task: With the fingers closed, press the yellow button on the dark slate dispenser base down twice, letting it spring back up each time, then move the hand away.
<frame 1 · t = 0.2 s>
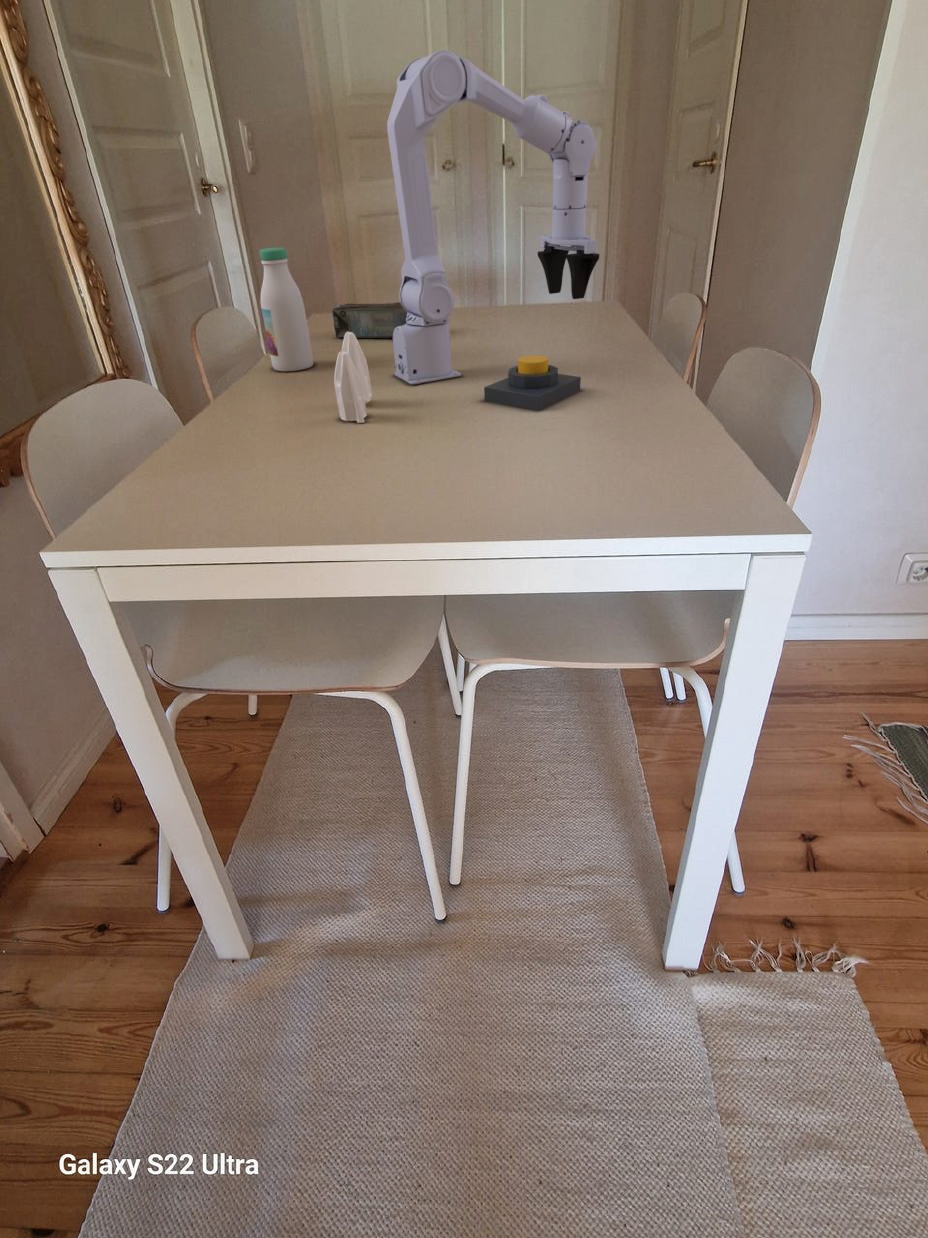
hand: (566, 295, 124), 10 cm above the table, tool pointing down, fingers open, 7 cm apart
beverage carton: (381, 336, 151), on the table
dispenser: (532, 396, 107), on the table
button: (533, 365, 105), point 5 cm above the table, slide at 0.1 cm
milk bottle: (293, 368, 131), on the table
white pointed piece: (357, 412, 105), on the table
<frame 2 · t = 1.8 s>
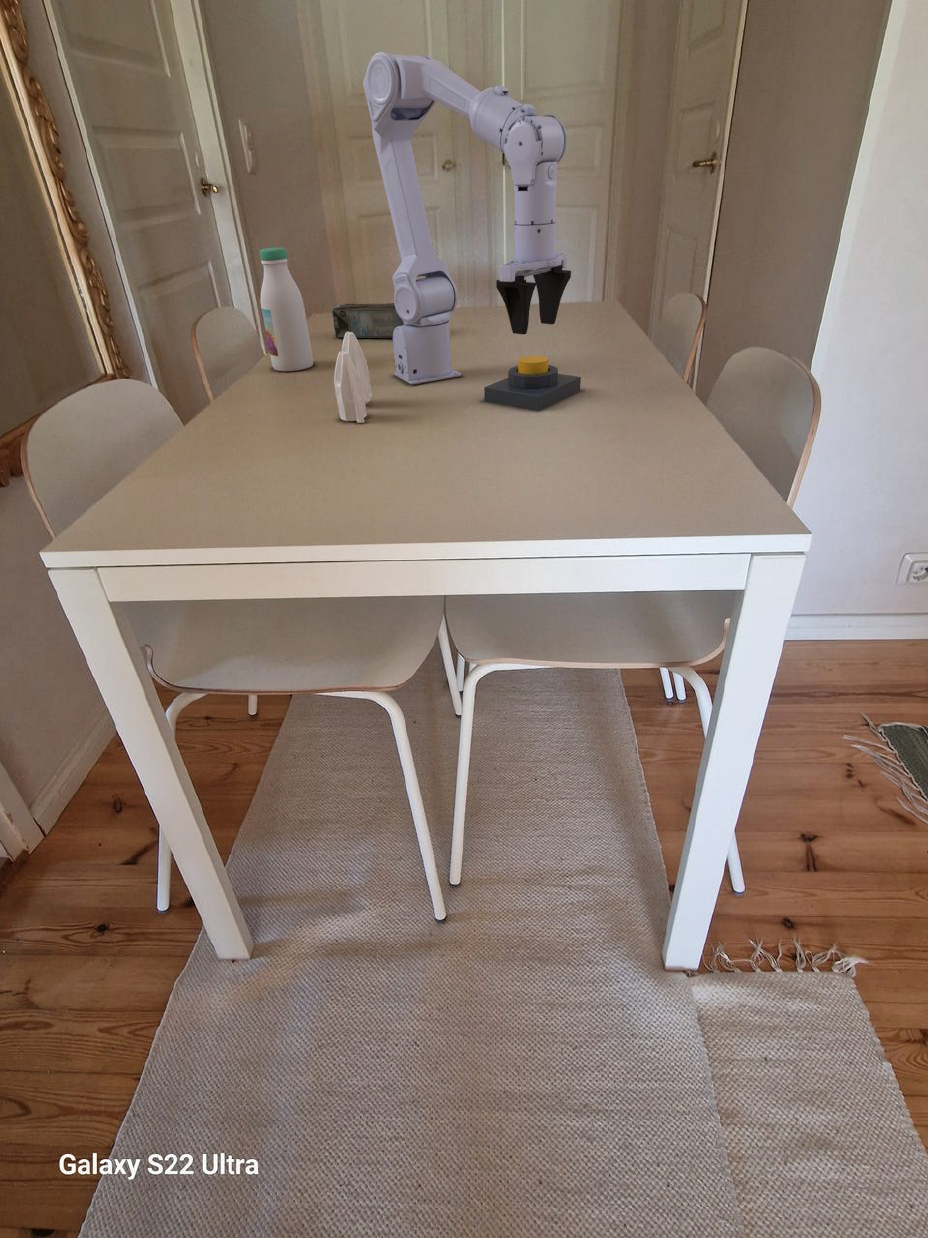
hand: (534, 328, 102), 10 cm above the table, tool pointing down, fingers open, 7 cm apart
nothing on the table moved.
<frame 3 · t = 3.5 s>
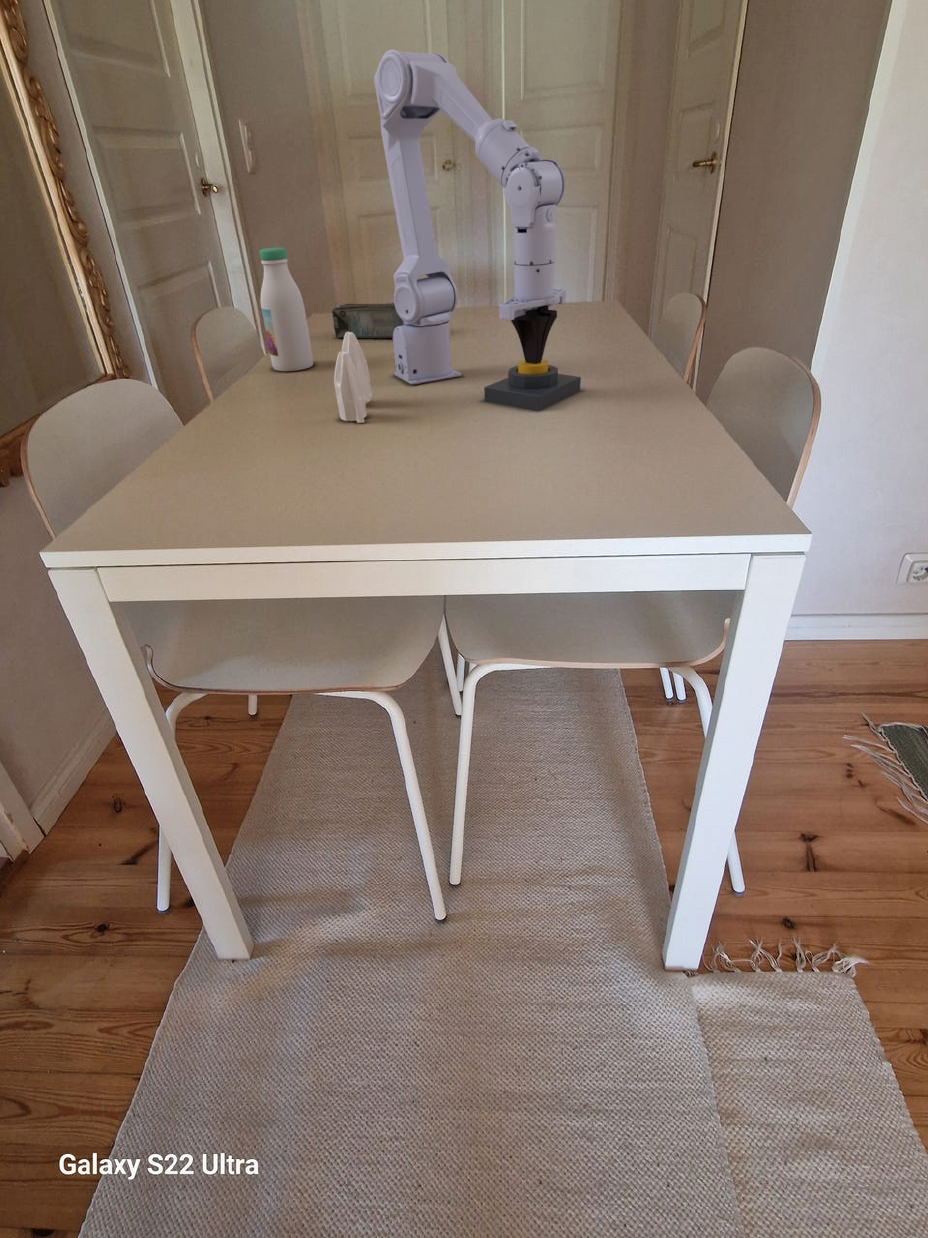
hand: (533, 362, 105), 5 cm above the table, tool pointing down, fingers closed, pressing on button
button: (533, 369, 105), point 4 cm above the table, slide at -0.4 cm, touching gripper
everything else where it was.
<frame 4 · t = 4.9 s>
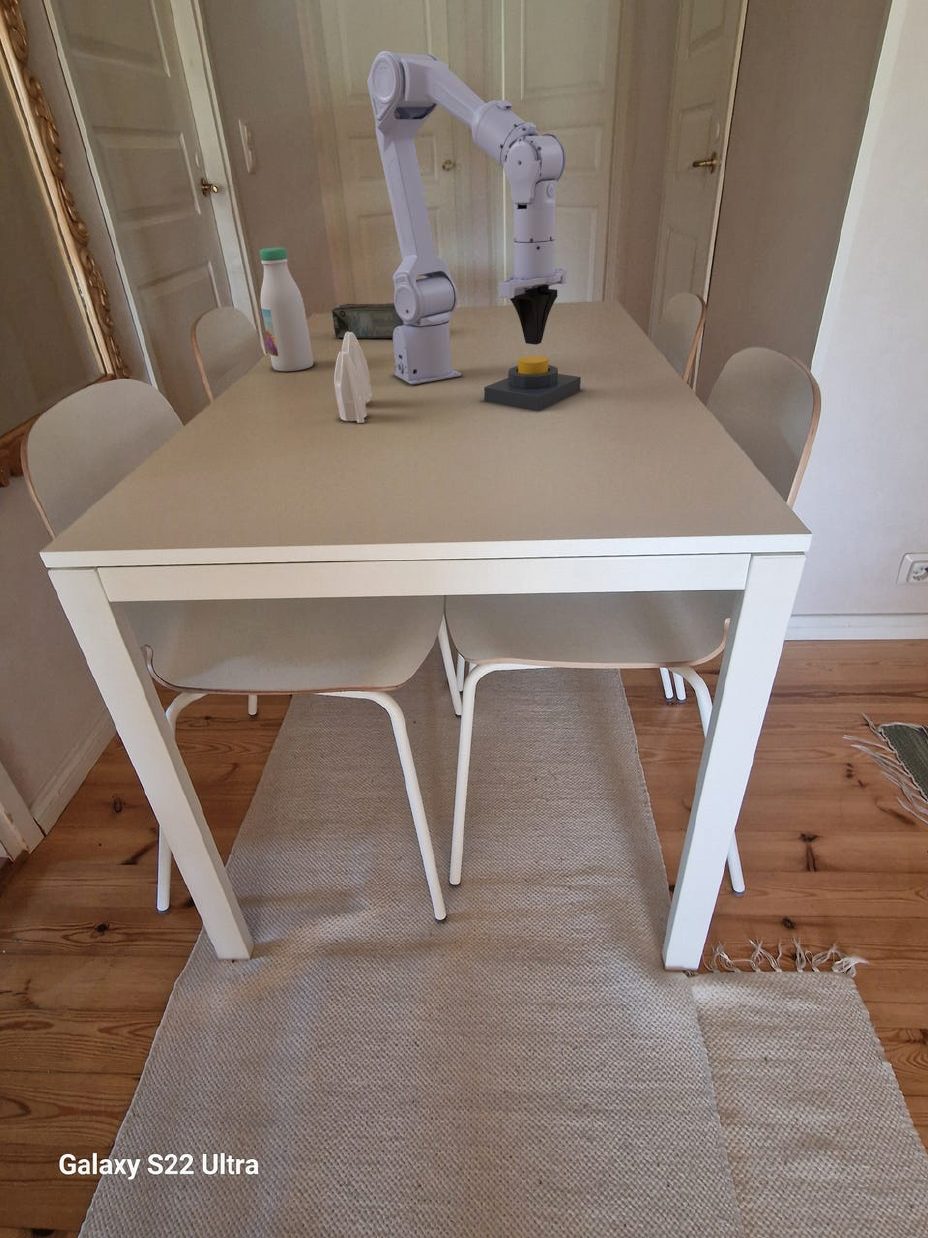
hand: (533, 343, 103), 8 cm above the table, tool pointing down, fingers closed
button: (533, 365, 105), point 5 cm above the table, slide at 0.1 cm
everything else where it was.
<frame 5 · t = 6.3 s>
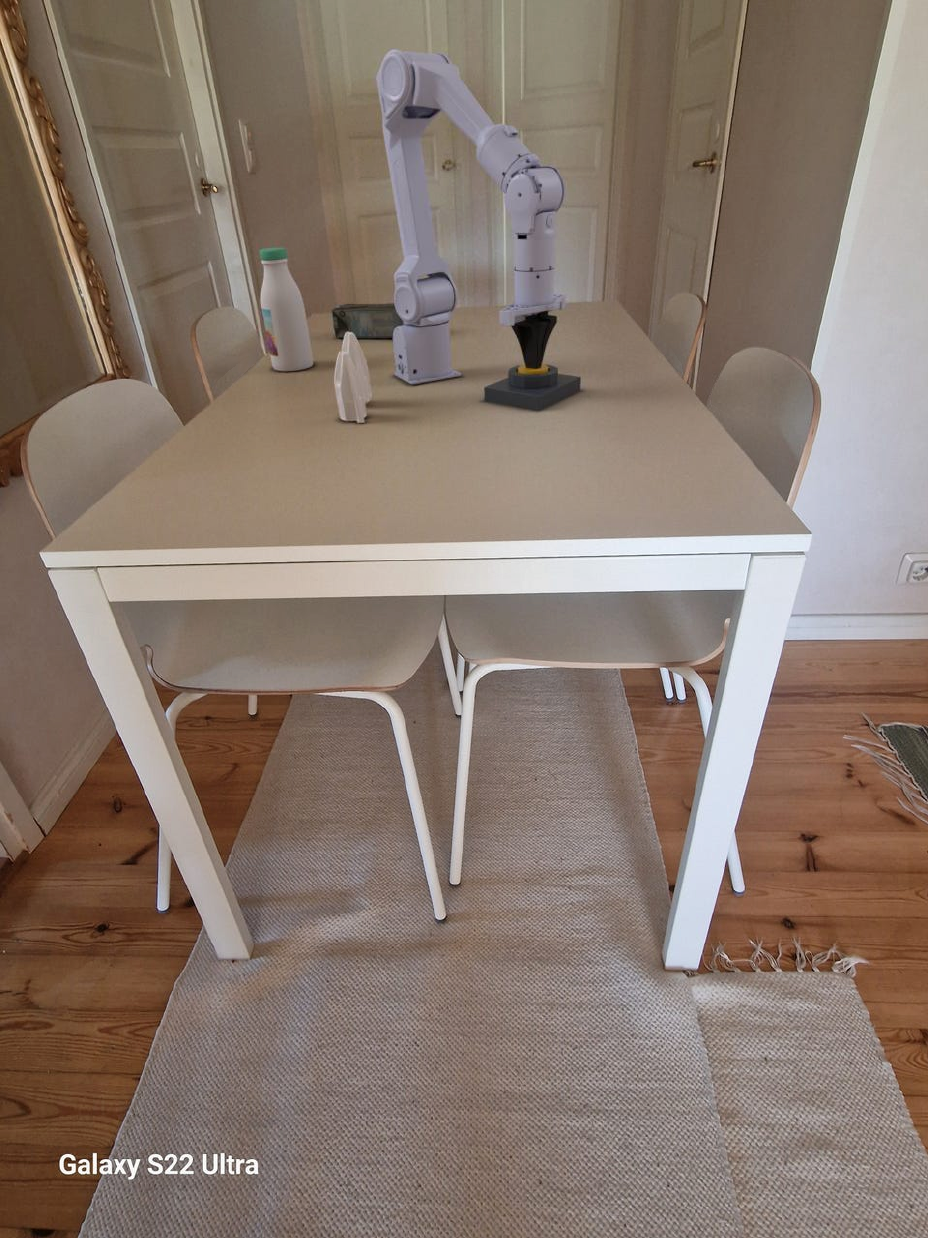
hand: (533, 367, 105), 4 cm above the table, tool pointing down, fingers closed, pressing on button
button: (533, 374, 106), point 3 cm above the table, slide at -1.2 cm, touching gripper
everything else where it was.
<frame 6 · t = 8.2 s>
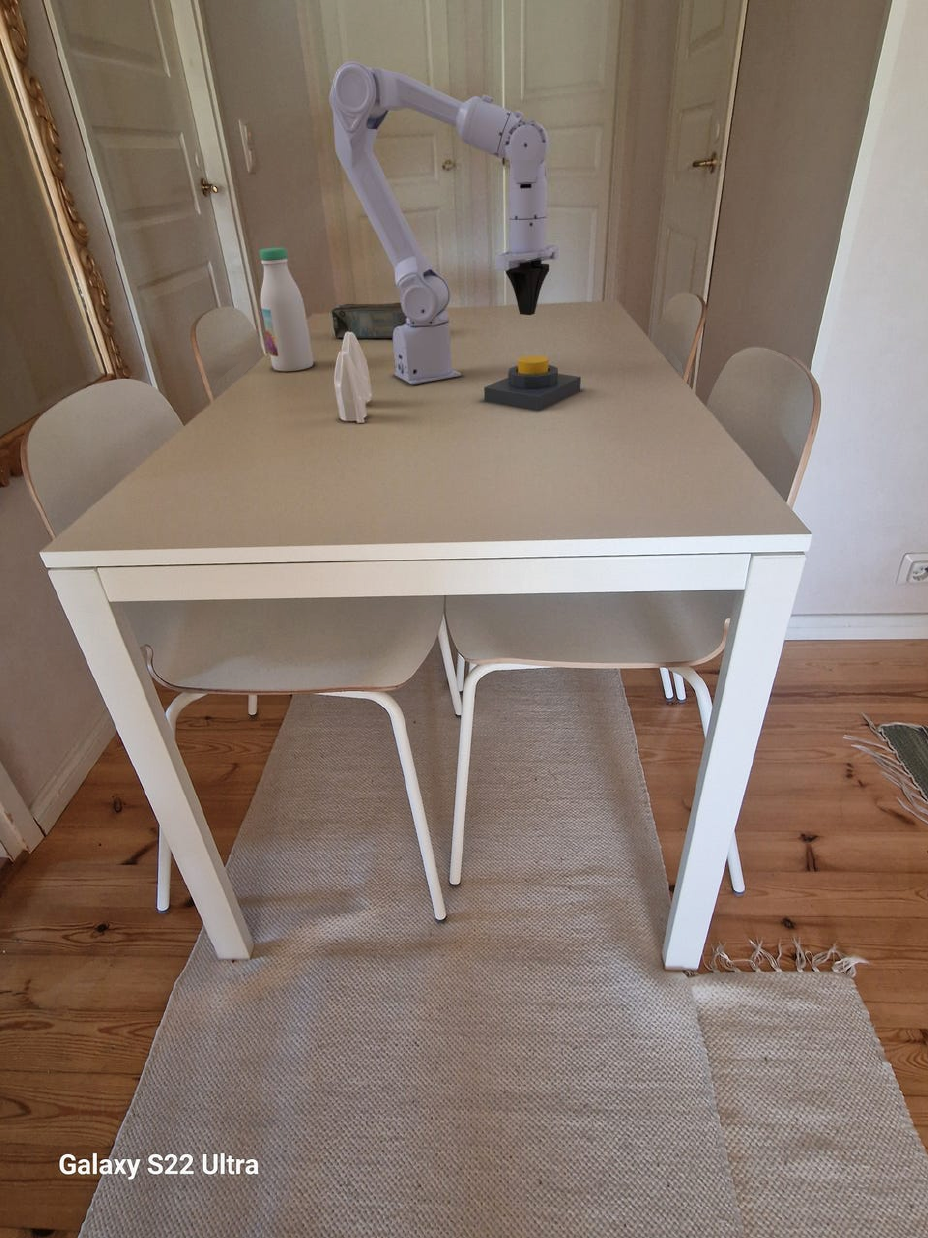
hand: (527, 314, 112), 10 cm above the table, tool pointing down, fingers closed
button: (533, 365, 105), point 5 cm above the table, slide at 0.1 cm
everything else where it was.
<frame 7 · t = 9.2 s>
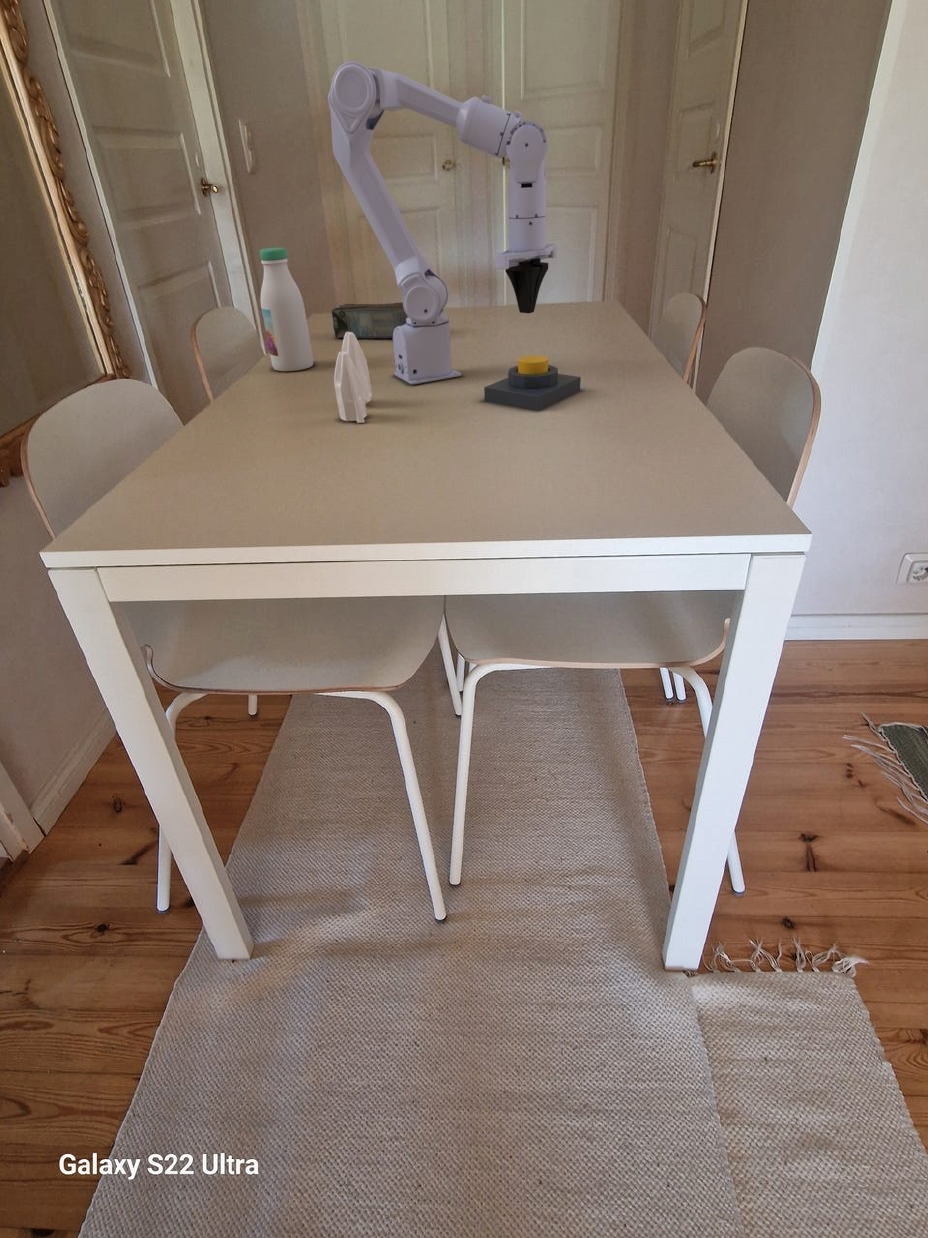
hand: (526, 312, 113), 10 cm above the table, tool pointing down, fingers closed
nothing on the table moved.
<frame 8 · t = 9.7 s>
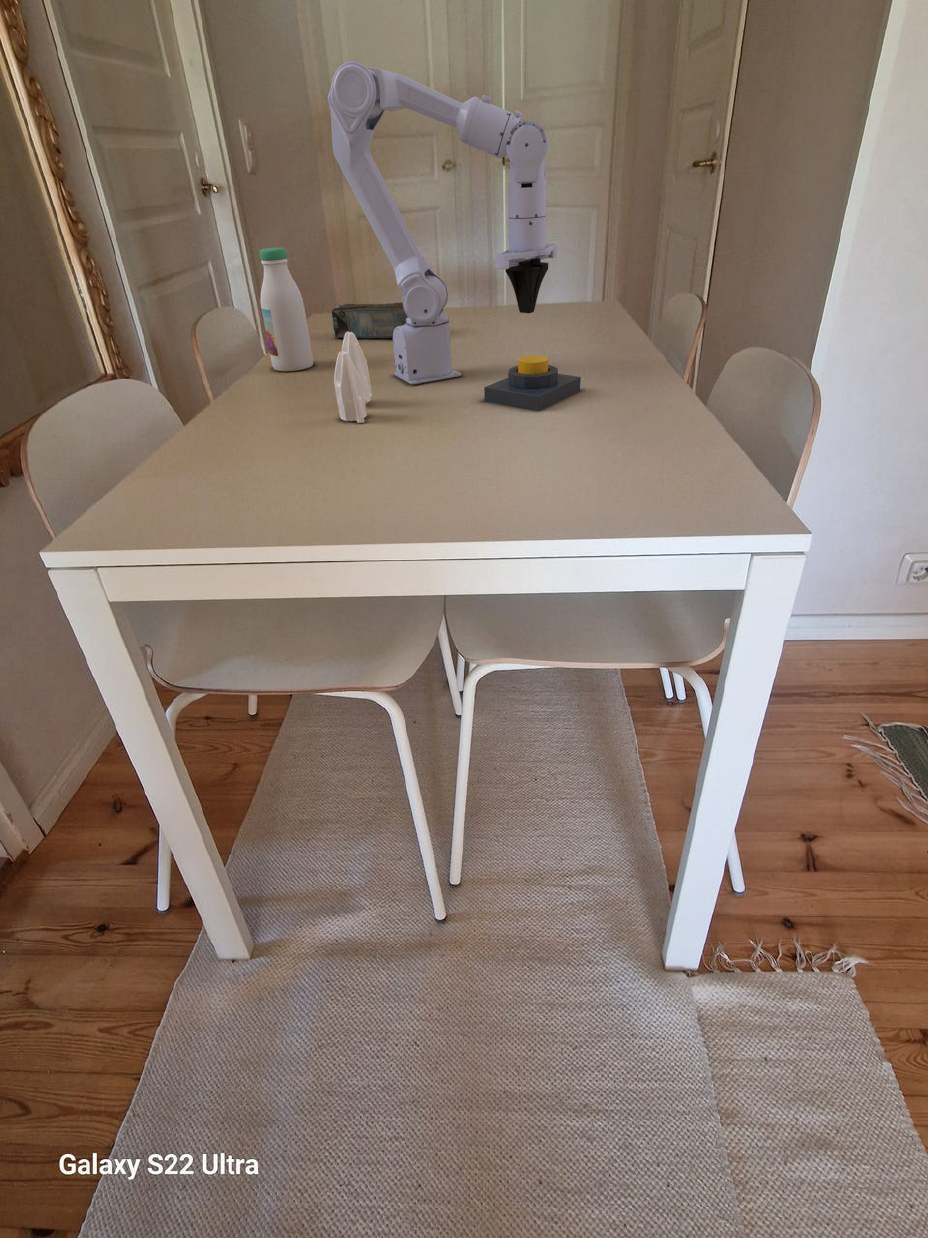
hand: (526, 312, 113), 10 cm above the table, tool pointing down, fingers closed
nothing on the table moved.
at the end: button pushed in 1.2 cm at the most during the clip, back to where it started at the end; button slide at 0.1 cm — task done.
